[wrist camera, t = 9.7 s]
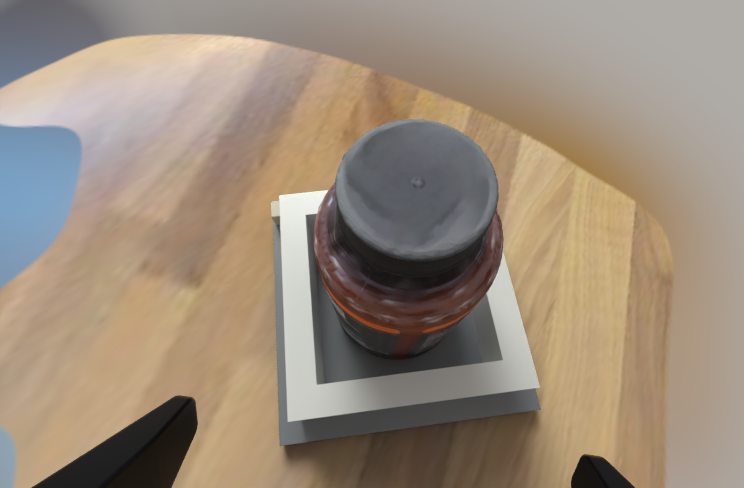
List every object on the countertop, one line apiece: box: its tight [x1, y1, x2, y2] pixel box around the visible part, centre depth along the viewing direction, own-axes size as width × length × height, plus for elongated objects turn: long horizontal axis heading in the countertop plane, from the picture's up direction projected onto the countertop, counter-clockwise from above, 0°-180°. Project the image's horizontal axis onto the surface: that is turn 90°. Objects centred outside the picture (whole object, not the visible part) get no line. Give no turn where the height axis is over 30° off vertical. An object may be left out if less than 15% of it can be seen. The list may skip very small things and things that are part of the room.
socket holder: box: [271, 190, 541, 446], centre depth 19 cm, size 12×12×4 cm
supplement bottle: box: [313, 119, 503, 360], centre depth 14 cm, size 6×6×11 cm
